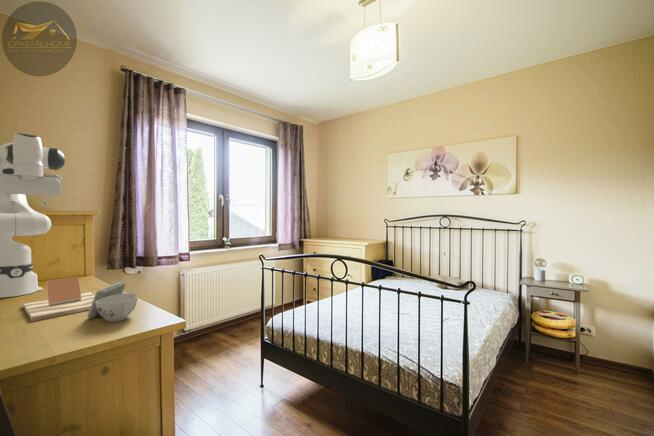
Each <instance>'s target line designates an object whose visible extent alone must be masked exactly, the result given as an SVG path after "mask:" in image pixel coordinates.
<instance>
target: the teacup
mask: <svg viewBox="0 0 654 436" xmlns="http://www.w3.org/2000/svg"><path fill="white" fill-rule="evenodd" d="M138 297H139V296H138V294H136V293H132V292H131V293H125V292H124V293H123V292H122V294H117V295H111V296H107V297H104V298H101V299H99V300H97V301H96V302H95V303H96V308H97V310H98V312H99V314H100V315H101V316H100V317H102V318H104V319H105V320H106V321H107V322H109V323H110V322H113V323H115V322H120V321H124V320H125V319H127V318H128V317H129V316H130V315H131V313H132V312H133V311H134V310H135V308H136V305H137V301H138Z"/></svg>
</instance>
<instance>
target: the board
mask: <svg viewBox="0 0 654 436" xmlns="http://www.w3.org/2000/svg"><path fill="white" fill-rule="evenodd" d="M80 294H81V300H78V301H73V302H67V303H62V304H56V305H51V306H49V304H48V298H47V299H42V300H41V299H40V300H35V301H30V302H24V303H22V304H23V309H24V310H25V312H26V314H27V316H28V317H29V318H30V320H31V322H32V323H33V322H37V320H38V321H43V320H48V319H53V318H57V317H61V316H62V317H63V316H66V315H71V314H77V313H80V312H86V311H89V310H90V307H91V305H92V302H93V299H94V297H95V294H94V293H92V292H91V291H89V292H84V293H83V292H82V293H80ZM52 317H53V318H52ZM47 318H48V319H47ZM42 319H43V320H42Z"/></svg>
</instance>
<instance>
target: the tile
mask: <svg viewBox="0 0 654 436" xmlns="http://www.w3.org/2000/svg"><path fill="white" fill-rule="evenodd" d="M45 283H46V292H47V299H48V304H49V306H51V305H56V304H62V303H67V302H73V301H78V300H81V294H82V293H81V287H80V281H79V276H72V277H65V278H57V279H49V280H45Z"/></svg>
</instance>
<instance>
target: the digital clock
mask: <svg viewBox="0 0 654 436" xmlns="http://www.w3.org/2000/svg"><path fill="white" fill-rule="evenodd" d="M125 286H126V283H125V281H119V282H115V283H113V284H111V285H108V286H106V287H104V288H101V289H98V290H97V291H96V292H95V294H94V295H95V297H94V299H93V302H92V305H91V307H90V310H88V313H87V318H88V319H95V318H97V317H102V316H101V315H100V314H99V312H98V310H97V308H96V303H95V302H96V301H97V300H99V299H101V298H104V297H107V296H111V295H117V294H123V292H124V289H125Z"/></svg>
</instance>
